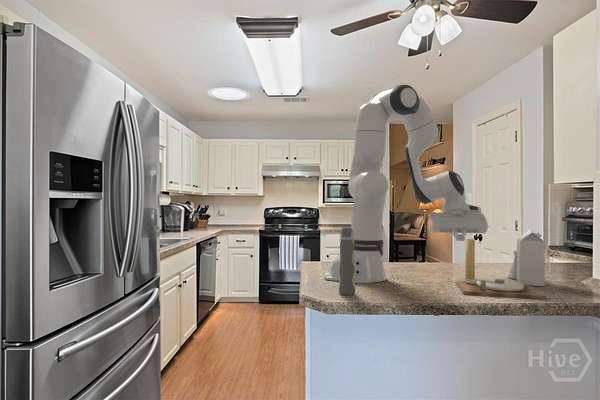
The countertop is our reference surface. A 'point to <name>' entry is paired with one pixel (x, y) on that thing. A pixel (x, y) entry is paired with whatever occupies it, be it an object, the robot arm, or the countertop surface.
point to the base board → (482, 291)
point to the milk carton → (531, 259)
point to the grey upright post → (347, 262)
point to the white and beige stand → (490, 283)
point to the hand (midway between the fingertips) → (460, 239)
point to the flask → (513, 268)
